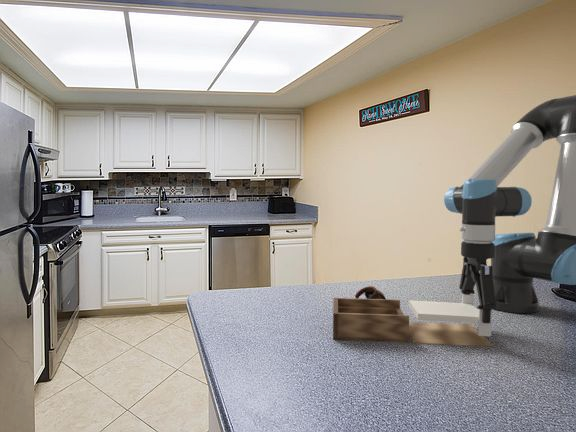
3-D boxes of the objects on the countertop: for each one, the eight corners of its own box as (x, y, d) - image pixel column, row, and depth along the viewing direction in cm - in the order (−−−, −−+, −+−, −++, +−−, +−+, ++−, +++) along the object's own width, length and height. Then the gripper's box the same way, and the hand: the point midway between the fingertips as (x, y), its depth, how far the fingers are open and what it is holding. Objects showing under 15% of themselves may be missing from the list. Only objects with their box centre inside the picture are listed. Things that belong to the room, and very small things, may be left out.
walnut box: (399, 323, 113) (399, 299, 113) (408, 342, 99) (409, 316, 98) (333, 320, 115) (333, 297, 115) (333, 339, 101) (333, 313, 100)
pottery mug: (393, 316, 121) (382, 294, 119) (364, 328, 122) (352, 307, 120) (386, 295, 132) (375, 275, 130) (359, 307, 134) (348, 287, 132)
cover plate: (470, 309, 109) (471, 303, 109) (487, 323, 98) (487, 317, 97) (408, 305, 111) (409, 300, 111) (417, 319, 99) (417, 313, 99)
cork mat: (471, 325, 111) (471, 324, 111) (492, 346, 96) (492, 345, 96) (402, 322, 113) (402, 321, 113) (413, 343, 98) (413, 342, 98)
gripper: (448, 235, 115) (446, 311, 116) (478, 248, 91) (475, 343, 92) (476, 235, 114) (474, 312, 115) (514, 248, 90) (511, 345, 91)
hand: (475, 326), depth 104 cm, fingers closed on cover plate, 12 cm apart
